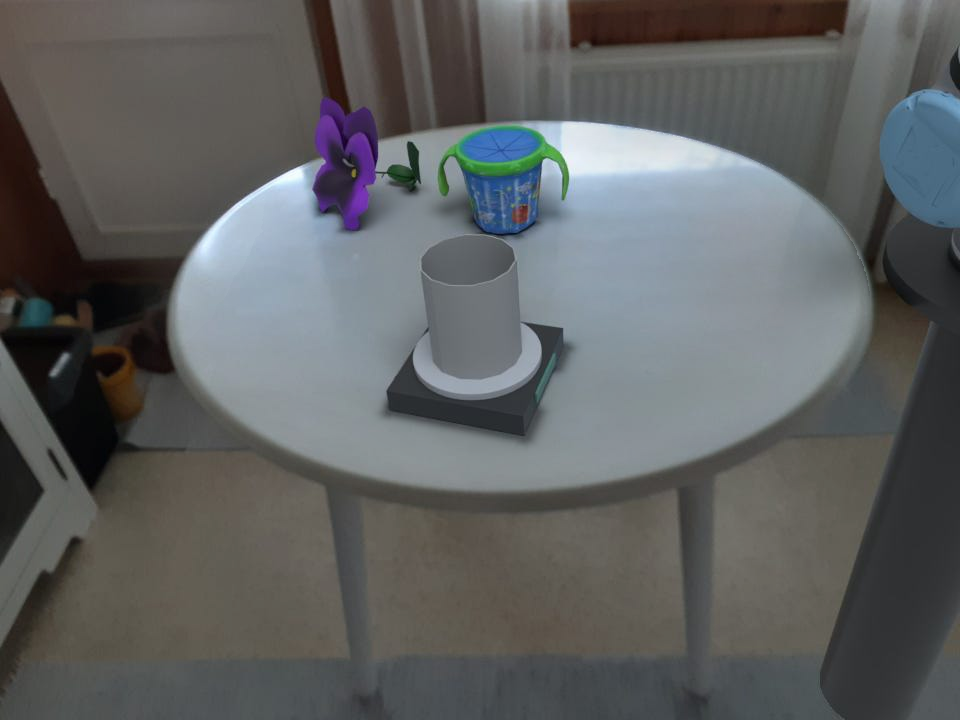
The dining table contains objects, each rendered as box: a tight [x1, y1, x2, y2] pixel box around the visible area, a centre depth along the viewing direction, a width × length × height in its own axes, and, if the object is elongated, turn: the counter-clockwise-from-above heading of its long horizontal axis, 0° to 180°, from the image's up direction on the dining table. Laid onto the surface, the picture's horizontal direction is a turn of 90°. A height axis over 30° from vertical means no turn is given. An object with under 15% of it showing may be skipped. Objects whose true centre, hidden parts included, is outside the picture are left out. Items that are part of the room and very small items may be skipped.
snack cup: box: [437, 125, 570, 235], centre depth 100 cm, size 16×10×10 cm
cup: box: [419, 233, 522, 380], centre depth 75 cm, size 8×8×10 cm
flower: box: [311, 96, 422, 231], centre depth 107 cm, size 15×15×14 cm
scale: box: [385, 321, 565, 436], centre depth 79 cm, size 13×13×3 cm
